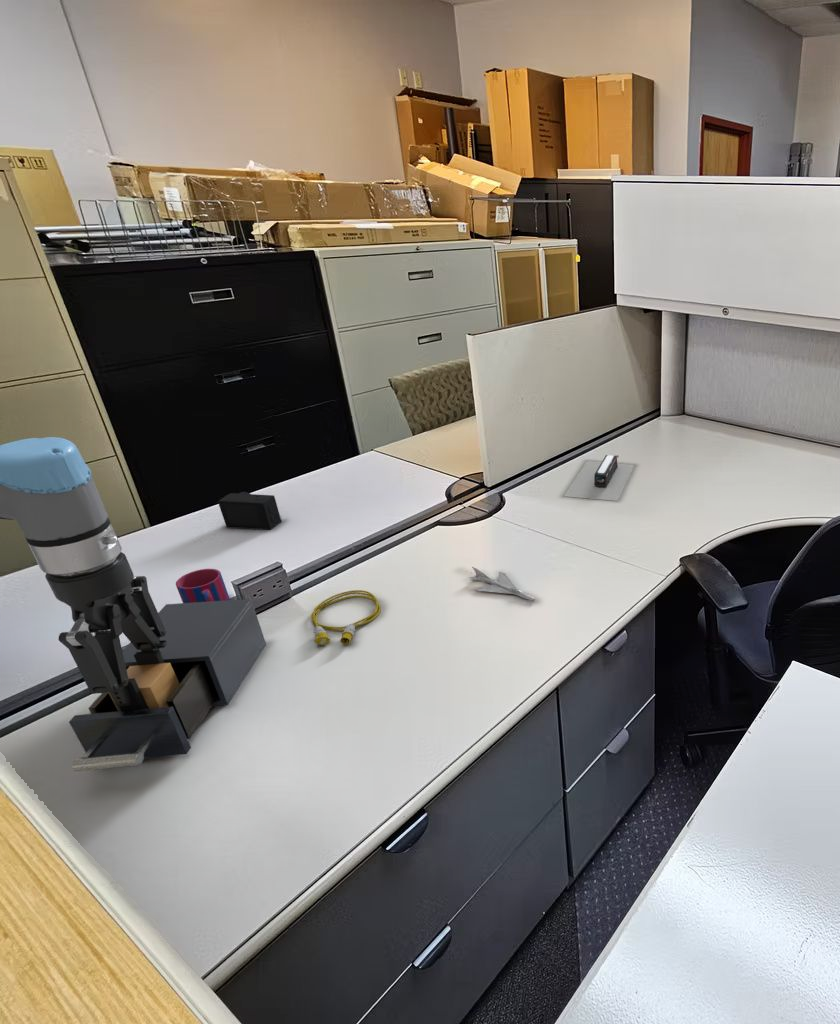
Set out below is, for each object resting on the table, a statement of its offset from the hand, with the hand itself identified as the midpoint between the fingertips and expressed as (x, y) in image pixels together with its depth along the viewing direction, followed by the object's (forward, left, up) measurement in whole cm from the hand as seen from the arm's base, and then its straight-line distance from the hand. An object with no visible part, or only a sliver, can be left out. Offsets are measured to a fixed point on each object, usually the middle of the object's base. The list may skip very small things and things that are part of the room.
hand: (150, 702), depth 87 cm
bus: (+69, +84, -6) cm, 109 cm away
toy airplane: (+44, +33, -6) cm, 55 cm away
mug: (-7, +30, -6) cm, 31 cm away
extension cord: (+17, +25, -6) cm, 31 cm away
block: (0, 0, 0) cm, 0 cm away
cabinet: (0, +12, -6) cm, 13 cm away
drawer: (0, -1, -5) cm, 5 cm away
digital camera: (-13, +66, -6) cm, 68 cm away
